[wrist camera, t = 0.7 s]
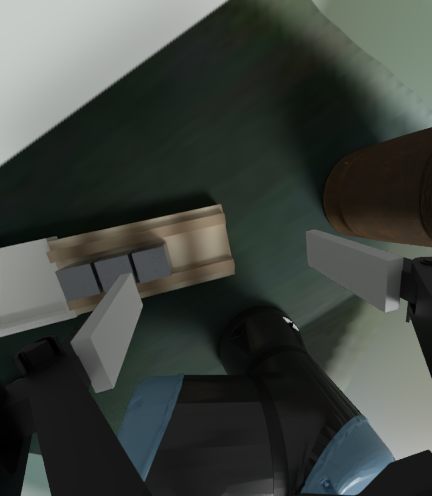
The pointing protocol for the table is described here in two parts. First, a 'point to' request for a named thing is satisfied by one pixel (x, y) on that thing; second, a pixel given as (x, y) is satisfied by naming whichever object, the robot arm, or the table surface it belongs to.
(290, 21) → the table surface
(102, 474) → the robot arm
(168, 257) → the gray cube
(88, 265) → the grey cubic block
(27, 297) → the tray
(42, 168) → the table surface
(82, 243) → the slot board
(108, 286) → the grey square block
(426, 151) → the wooden container
